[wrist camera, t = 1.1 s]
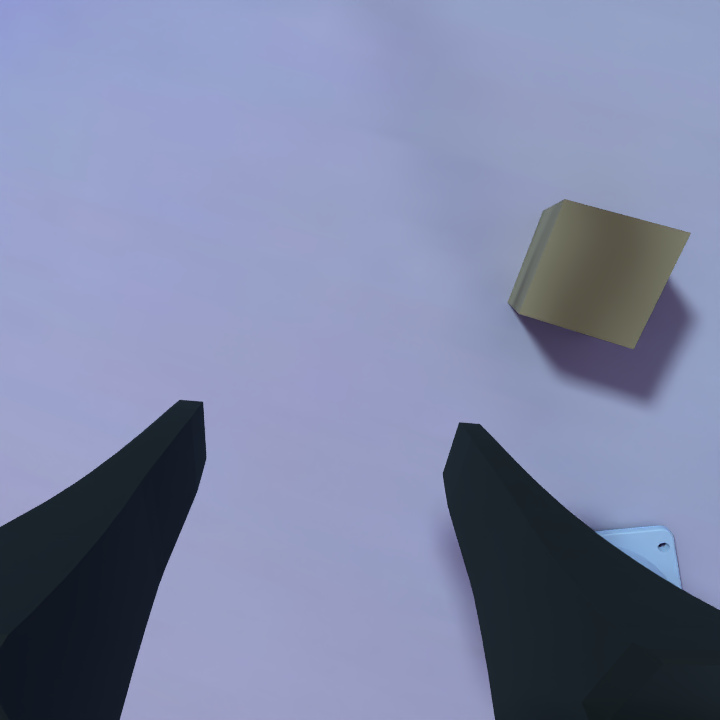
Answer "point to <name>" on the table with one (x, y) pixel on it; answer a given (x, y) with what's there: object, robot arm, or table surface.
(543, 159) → the table surface
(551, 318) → the plain olive brown cube
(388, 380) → the table surface
